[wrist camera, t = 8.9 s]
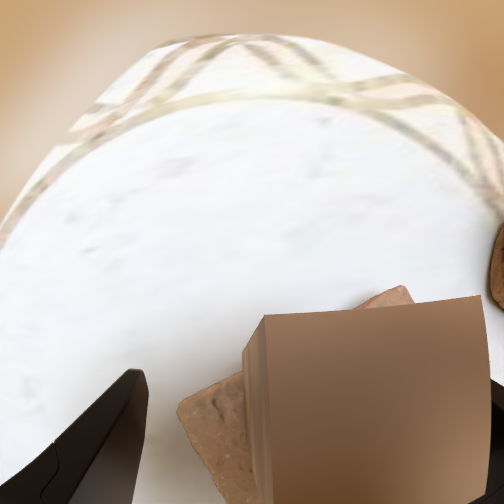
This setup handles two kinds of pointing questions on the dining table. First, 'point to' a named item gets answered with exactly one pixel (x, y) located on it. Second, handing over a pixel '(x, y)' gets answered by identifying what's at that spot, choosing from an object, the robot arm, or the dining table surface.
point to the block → (498, 270)
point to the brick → (239, 423)
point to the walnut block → (370, 405)
